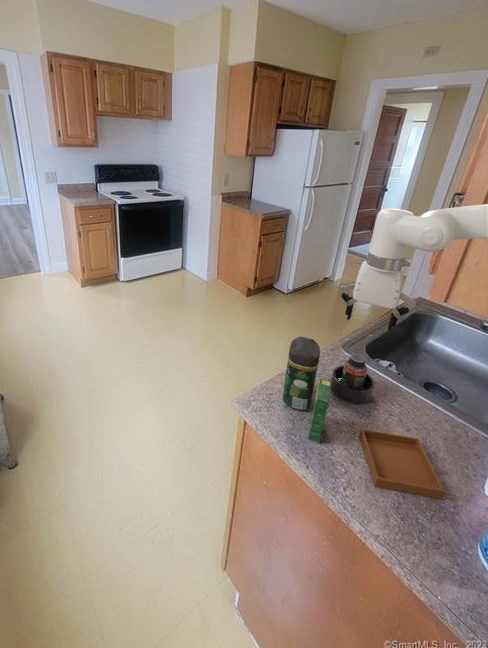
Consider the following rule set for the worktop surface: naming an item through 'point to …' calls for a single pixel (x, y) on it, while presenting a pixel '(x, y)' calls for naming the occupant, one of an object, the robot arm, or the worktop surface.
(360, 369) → the supplement bottle
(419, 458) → the tray
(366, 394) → the bowl
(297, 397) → the coffee jar
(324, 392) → the coffee box
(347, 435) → the worktop surface
